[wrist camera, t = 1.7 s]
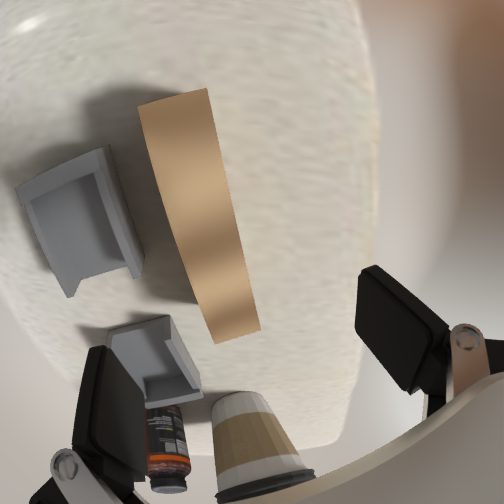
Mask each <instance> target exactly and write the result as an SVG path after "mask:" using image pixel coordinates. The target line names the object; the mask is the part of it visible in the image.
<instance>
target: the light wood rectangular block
mask: <svg viewBox="0 0 504 504" xmlns="http://www.w3.org/2000/svg"><path fill="white" fill-rule="evenodd" d="M137 108H138V112H139V117H140V121H141V125H142V129H143V133H144V137H145V141H146V145H147V149H148V152H149V156H150V160H151V163H152V167H153V171H154V174H155V178H156V181H157V184H158V188H159V191H160V194H161V198H162V201H163V204H164V207H165V211H166V214H167V217H168V220H169V223H170V226H171V229H172V232H173V235H174V238H175V241H176V244H177V247H178V250H179V253H180V256H181V258H182V261H183V264H184V267H185V270H186V272H187V275H188V278H189V281H190V283H191V286H192V289H193V291H194V294H195V296H196V299H197V302H198V304H199V307H200V309H201V312H202V314H203V317H204V319H205V322H206V324H207V327H208V329H209V331H210V334H211V336H212V339H213V341H214V343H215V344H218V343H221V342H224V341H228V340H231V339H234V338H238V337H241V336H244V335H247V334H250V333H253V332H257V331H260V330H261V328H260V323H259V319H258V315H257V311H256V306H255V302H254V298H253V293H252V289H251V285H250V280H249V276H248V272H247V267H246V263H245V259H244V254H243V250H242V246H241V241H240V237H239V232H238V228H237V223H236V219H235V215H234V210H233V206H232V201H231V197H230V192H229V188H228V183H227V179H226V174H225V170H224V165H223V161H222V156H221V151H220V147H219V142H218V138H217V133H216V128H215V124H214V119H213V114H212V110H211V105H210V100H209V96H208V91H207V88H204V89H200V90H195V91H191V92H187V93H183V94H179V95H175V96H171V97H168V98H164V99H160V100H157V101H154V102H150V103H147V104H144V105H141V106H138V107H137Z"/></svg>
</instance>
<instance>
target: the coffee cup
mask: <svg viewBox="0 0 504 504" xmlns="http://www.w3.org/2000/svg"><path fill="white" fill-rule="evenodd" d="M211 420H212V433H213V445H214V456H215V466H216V475H217V484H218V493H217V494H216V495H215V497H216V498H217V503H218V504H225V503H230V502H235V501H240V500H245V499H249V498H254V497H258V496H262V495H266V494H269V493H273V492H276V491H280V490H283V489H286V488H289V487H292V486H295V485H298V484H301V483H304V482H307V481H310V480H312V479H315V478H316V476H315V475H314V470H313V469H308V468H307V466H306V465H305V463H304V462H303V460H302V459H301V457H300V456H299V454H298V453H297V451H296V449H295V447H294V446H293V444H292V443H291V441H290V439H289V438H288V436H287V434H286V433H285V431H284V429H283V428H282V426H281V424H280V423H279V421H278V419H277V418H276V416H275V414H274V413H273V411H272V409H271V407H270V406H269V404H268V402H267V401H266V400H265V399H264V398H263V396H262V395H261V394H258V393H256V392H249V391H247V392H238V393H233V394H230V395H227V396H225V397H223V398H221V399H219V400H218V401H217V402H216V403H215V404H214V405H213V408H212V414H211Z"/></svg>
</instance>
